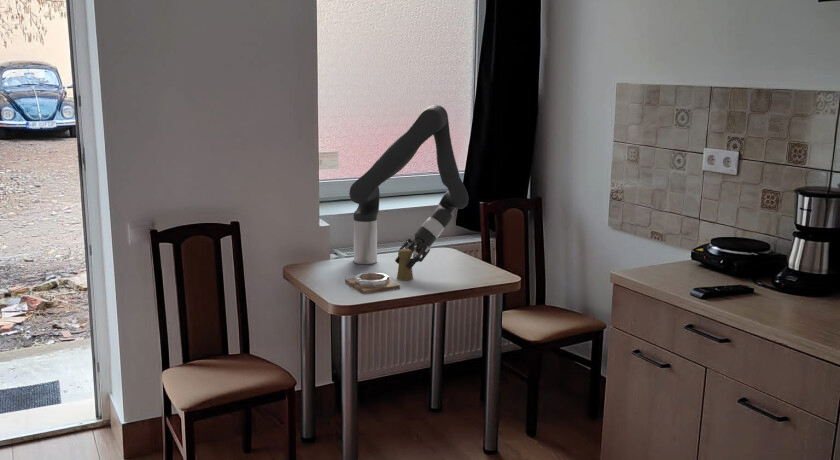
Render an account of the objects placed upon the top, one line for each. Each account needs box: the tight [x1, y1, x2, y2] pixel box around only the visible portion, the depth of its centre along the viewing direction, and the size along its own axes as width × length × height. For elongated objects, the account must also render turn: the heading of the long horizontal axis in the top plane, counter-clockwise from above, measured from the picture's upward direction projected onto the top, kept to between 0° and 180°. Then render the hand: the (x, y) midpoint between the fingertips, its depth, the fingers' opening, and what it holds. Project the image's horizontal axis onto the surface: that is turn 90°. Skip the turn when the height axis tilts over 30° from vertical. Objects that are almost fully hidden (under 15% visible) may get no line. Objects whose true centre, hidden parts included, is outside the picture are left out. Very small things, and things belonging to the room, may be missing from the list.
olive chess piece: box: [396, 248, 414, 281], centre depth 287 cm, size 6×6×11 cm
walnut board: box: [344, 277, 401, 295], centre depth 278 cm, size 16×14×1 cm
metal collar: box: [354, 271, 390, 287], centre depth 278 cm, size 11×11×2 cm
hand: (402, 265), depth 286 cm, fingers open, 8 cm apart
